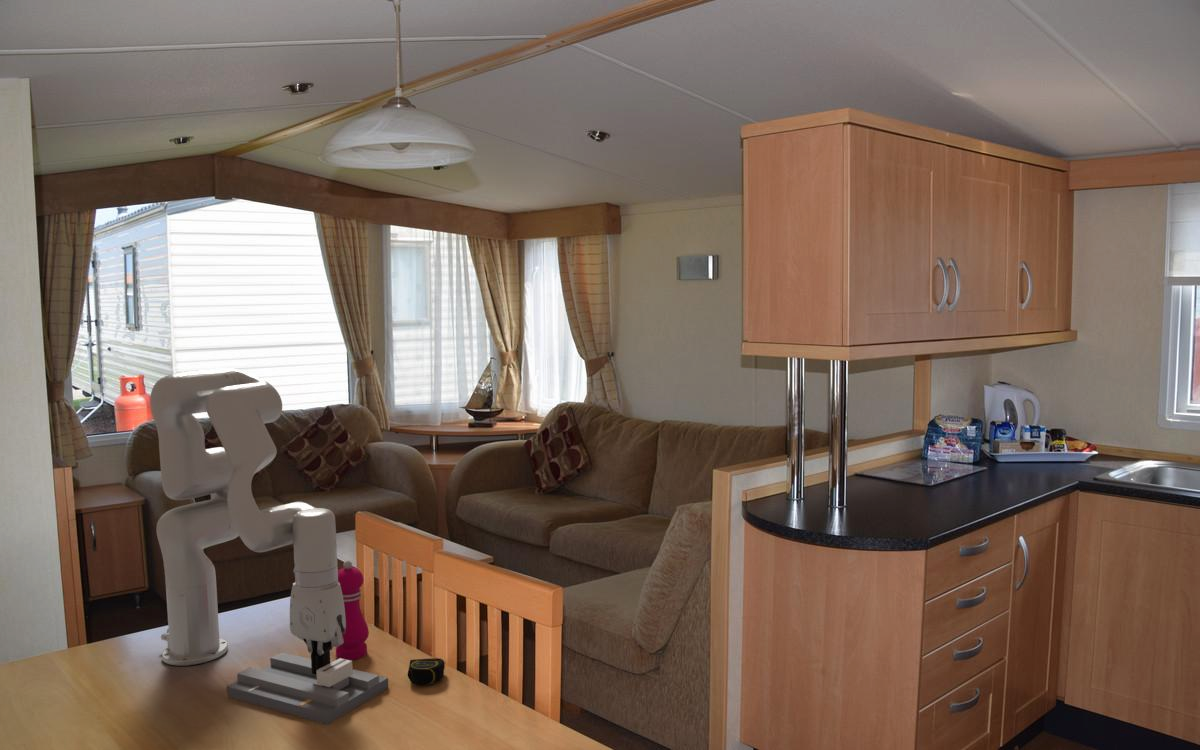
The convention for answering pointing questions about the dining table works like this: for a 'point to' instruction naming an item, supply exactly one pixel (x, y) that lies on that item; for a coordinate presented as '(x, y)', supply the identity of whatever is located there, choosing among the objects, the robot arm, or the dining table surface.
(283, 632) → the dining table surface
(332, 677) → the fader tab
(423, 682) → the tape measure
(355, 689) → the fader console
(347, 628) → the pepper mill
